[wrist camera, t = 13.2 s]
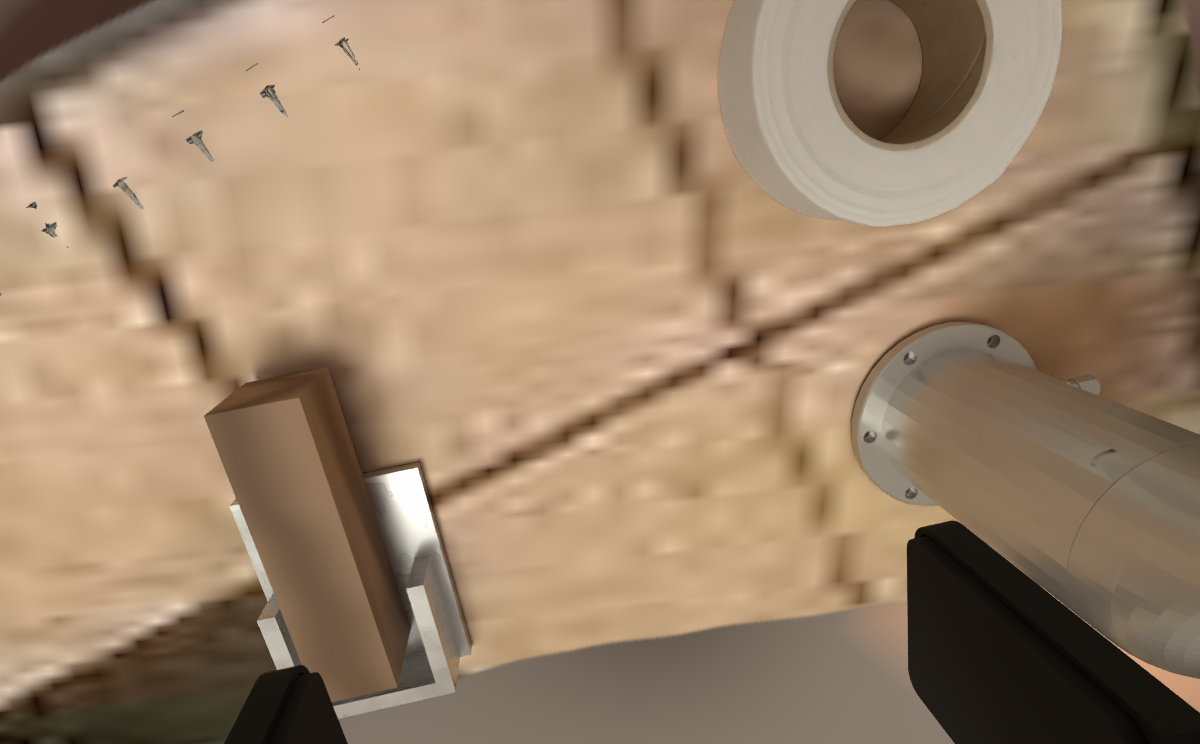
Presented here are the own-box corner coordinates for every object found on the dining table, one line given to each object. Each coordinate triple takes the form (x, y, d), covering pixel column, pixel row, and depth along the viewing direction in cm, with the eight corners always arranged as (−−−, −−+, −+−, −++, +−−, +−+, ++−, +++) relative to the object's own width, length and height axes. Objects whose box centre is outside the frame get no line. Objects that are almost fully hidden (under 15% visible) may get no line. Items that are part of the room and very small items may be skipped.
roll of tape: (993, -114, 33) (1083, -167, 28) (981, 196, 38) (1055, 200, 33) (702, -74, 32) (738, -123, 27) (728, 239, 37) (763, 250, 32)
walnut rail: (328, 367, 35) (299, 397, 31) (411, 627, 41) (397, 687, 36) (246, 382, 35) (203, 415, 30) (341, 643, 41) (318, 705, 36)
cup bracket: (419, 461, 39) (409, 491, 35) (471, 646, 43) (467, 689, 39) (235, 499, 38) (205, 533, 34) (307, 682, 42) (288, 730, 39)
